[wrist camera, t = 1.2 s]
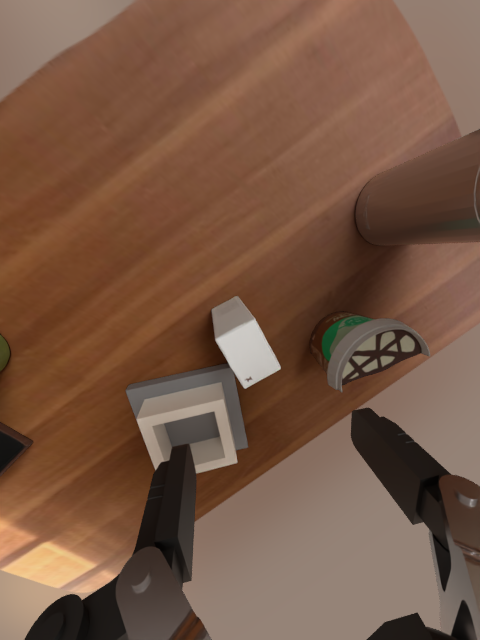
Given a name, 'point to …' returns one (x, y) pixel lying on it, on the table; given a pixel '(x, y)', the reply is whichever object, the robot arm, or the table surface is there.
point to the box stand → (191, 416)
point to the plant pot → (3, 353)
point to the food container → (361, 346)
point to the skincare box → (243, 342)
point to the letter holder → (11, 446)
